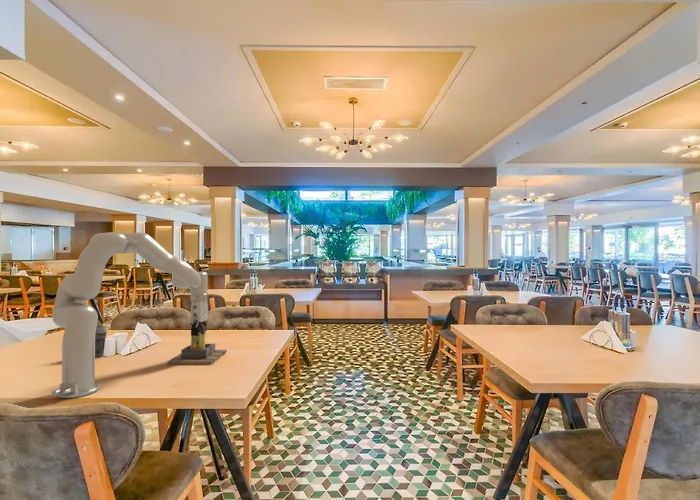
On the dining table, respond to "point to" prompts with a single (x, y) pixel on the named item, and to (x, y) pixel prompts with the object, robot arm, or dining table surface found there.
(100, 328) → the beverage cup
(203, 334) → the sauce bottle
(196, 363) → the condiment holder
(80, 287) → the robot arm
